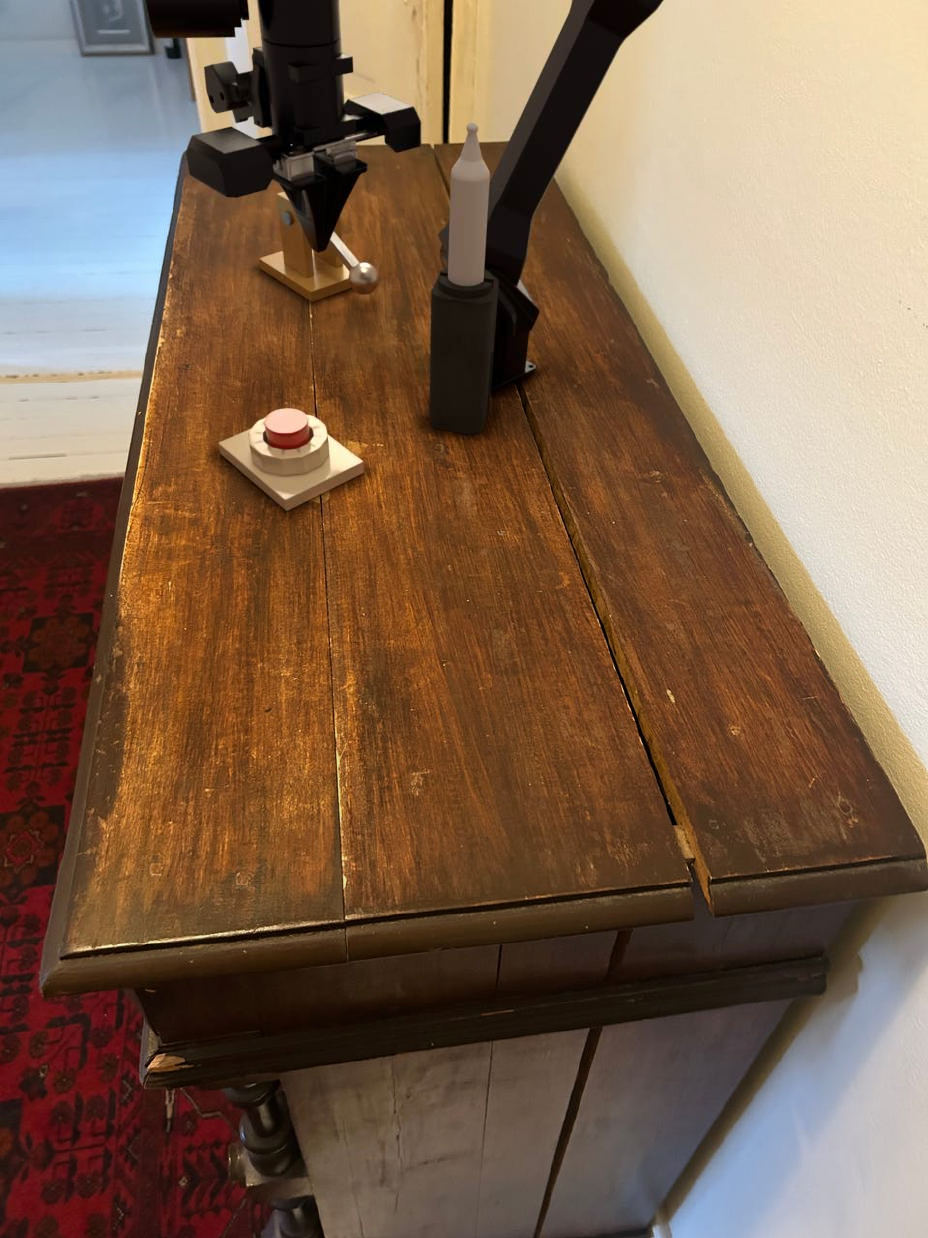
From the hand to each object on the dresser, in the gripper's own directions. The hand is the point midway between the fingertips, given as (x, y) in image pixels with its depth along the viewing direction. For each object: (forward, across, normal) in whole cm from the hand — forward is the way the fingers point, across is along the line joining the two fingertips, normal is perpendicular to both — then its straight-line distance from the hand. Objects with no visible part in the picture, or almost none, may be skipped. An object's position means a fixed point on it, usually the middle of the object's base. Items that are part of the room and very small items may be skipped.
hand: (318, 249), depth 74 cm
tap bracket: (+13, -12, -19) cm, 26 cm away
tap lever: (+9, -12, -15) cm, 21 cm away
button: (+10, +10, +8) cm, 16 cm away
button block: (+13, +10, +8) cm, 18 cm away
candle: (+13, -6, +12) cm, 19 cm away
